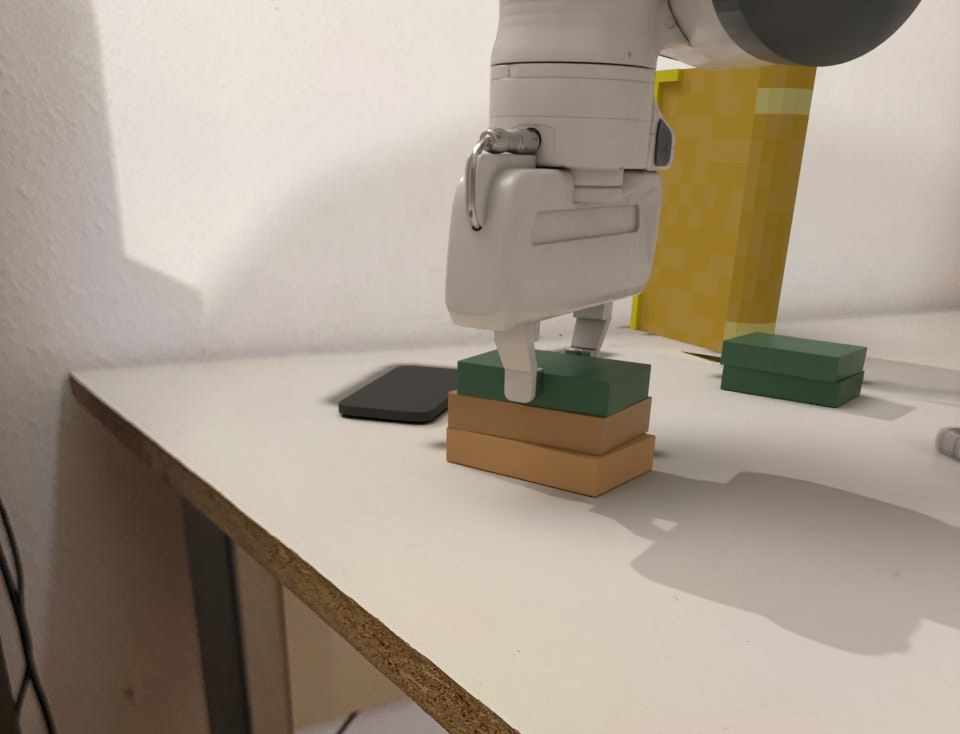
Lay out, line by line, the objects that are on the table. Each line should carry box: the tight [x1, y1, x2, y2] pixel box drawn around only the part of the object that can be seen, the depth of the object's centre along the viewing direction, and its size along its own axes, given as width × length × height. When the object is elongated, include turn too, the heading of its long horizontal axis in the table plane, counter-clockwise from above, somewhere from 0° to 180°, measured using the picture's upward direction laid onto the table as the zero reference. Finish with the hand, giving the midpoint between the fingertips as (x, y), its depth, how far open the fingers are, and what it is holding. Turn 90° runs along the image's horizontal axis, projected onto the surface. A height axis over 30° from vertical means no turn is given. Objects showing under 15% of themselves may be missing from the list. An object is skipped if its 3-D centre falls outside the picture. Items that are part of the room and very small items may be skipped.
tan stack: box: [445, 390, 657, 498], centre depth 60 cm, size 11×8×4 cm
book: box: [629, 64, 818, 363], centre depth 92 cm, size 17×7×25 cm, turn 27°
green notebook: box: [456, 348, 652, 418], centre depth 58 cm, size 10×6×2 cm, turn 60°
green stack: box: [719, 332, 868, 408], centre depth 81 cm, size 10×7×4 cm
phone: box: [337, 364, 457, 423], centre depth 75 cm, size 7×1×15 cm
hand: (553, 387), depth 58 cm, fingers open, 6 cm apart
